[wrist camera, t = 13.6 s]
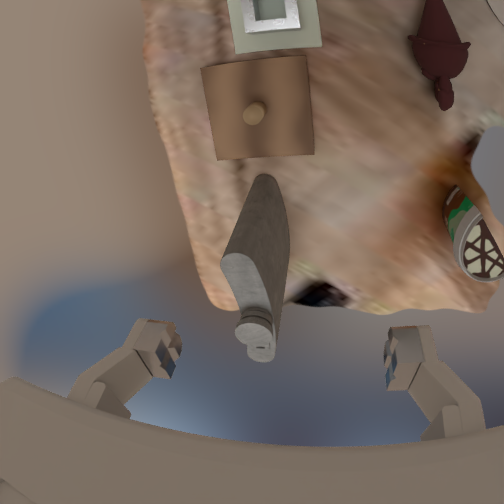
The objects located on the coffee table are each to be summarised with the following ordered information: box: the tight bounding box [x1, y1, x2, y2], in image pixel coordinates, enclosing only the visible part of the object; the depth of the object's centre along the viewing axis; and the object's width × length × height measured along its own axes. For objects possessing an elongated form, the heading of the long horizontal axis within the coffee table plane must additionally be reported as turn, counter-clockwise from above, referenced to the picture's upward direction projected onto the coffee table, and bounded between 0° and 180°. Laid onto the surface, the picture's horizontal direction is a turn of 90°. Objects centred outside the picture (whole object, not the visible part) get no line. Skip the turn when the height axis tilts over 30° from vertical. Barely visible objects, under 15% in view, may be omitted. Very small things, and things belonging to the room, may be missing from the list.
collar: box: [241, 0, 301, 35], centre depth 26 cm, size 6×6×4 cm
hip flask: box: [220, 174, 290, 362], centre depth 37 cm, size 16×4×20 cm, turn 11°
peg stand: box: [200, 56, 314, 161], centre depth 33 cm, size 12×12×6 cm
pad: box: [227, 0, 322, 54], centre depth 28 cm, size 10×10×1 cm
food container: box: [443, 185, 504, 282], centre depth 35 cm, size 12×6×10 cm, turn 52°
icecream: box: [408, 0, 471, 111], centre depth 24 cm, size 7×7×15 cm
